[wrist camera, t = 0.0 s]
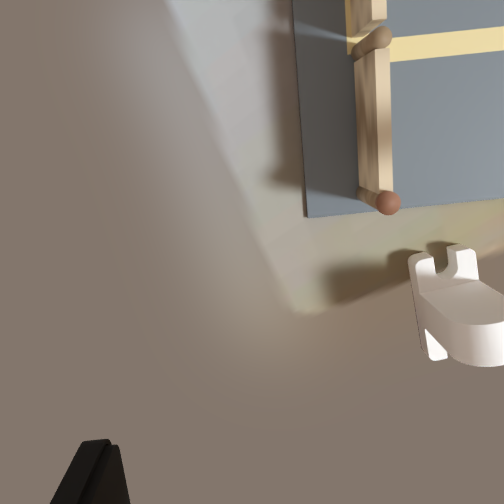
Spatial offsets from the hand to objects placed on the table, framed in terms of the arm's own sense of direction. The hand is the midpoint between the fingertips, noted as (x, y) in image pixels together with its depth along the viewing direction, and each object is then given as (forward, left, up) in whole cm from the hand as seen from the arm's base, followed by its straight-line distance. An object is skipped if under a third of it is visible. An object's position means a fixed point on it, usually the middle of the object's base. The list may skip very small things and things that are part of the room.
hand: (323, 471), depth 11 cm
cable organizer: (+9, +16, -32) cm, 36 cm away
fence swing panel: (-7, +9, -30) cm, 33 cm away
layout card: (-12, +13, -31) cm, 36 cm away
